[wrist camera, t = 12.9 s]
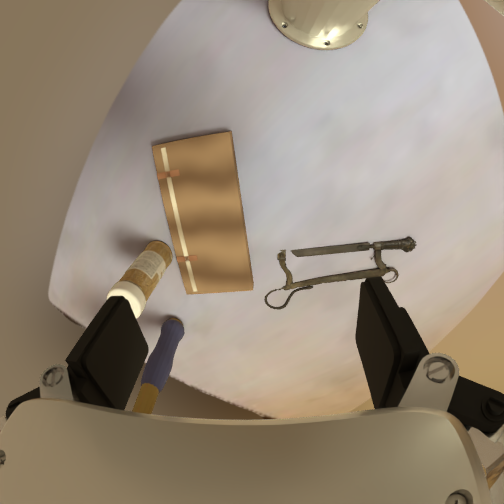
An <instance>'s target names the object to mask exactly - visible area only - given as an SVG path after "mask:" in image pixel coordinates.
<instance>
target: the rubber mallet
mask: <svg viewBox="0 0 504 504" xmlns="http://www.w3.org/2000/svg"><path fill="white" fill-rule="evenodd" d="M183 335H184V327H183V324H182V322H181V321H180V320H178V319H175V318H171V319H169V320H167V321H166V322H164V323H163V325H162V327H161V334H160V337H159V340H158V342H157V345H156V347H155V349H154V350H153V352H152V353H151V355H150V356H149V359H148V361H147V363H146V366H145V369H144V372H143V376H142V380H141V389H140V392H139V394H138V397H137V399H136V402H135V405H134V408H133V410H132V412H138V413H145V414H151V413H152V410H153V407H154V405H155V402H156V399H157V396H158V394H159V392H160V391H161V390H162V388H163V387H164V385H165V383H166V381H167V379H168V376H169V374H170V371H171V368H172V364H173V358H174V354H175V351H176V349H177V346H178V343H179V341H180V340H181V339H182V337H183Z"/></svg>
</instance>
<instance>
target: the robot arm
mask: <svg viewBox="0 0 504 504" xmlns="http://www.w3.org/2000/svg"><path fill="white" fill-rule="evenodd" d="M379 1H380V0H268V7H269V13H270V16H271V18H272V21H273V22H274V24H275V25H276V27H277V28H278V29H279V30H280V31H281V32H282V33H283V34H284V35H285V36H286V37H288V38H289V39H291V40H292V41H294V42H296V43H298V44H300V45H303V46H305V47H308V48H313V49H318V50H334V49H339V48H343V47H346V46H348V45H350V44H352V43H353V42H355V41H356V40H357V39H358V38H359V37H360V36H361V35H362V34H363V32H364V31H365V29H366V26H367V22H368V11H369V10H370V9H371V8H372V7H373V6H374V5H375V4H377V3H378V2H379ZM485 1H486V2H487V3H488V4H489V5H490V6H492V7H493V8H494V9H495V10H497V11H498V12H499V13H500V14H502V15H503V16H504V0H485ZM282 26H286V28H283V27H282ZM357 26H359V27H360V28H358V27H357ZM324 43H327V46H325V45H324ZM356 344H357V348H358V351H359V354H360V358H361V361H362V364H363V368H364V371H365V375H366V378H367V382H368V386H369V389H370V393H371V397H372V401H373V404H374V408H375V409H374V410H365V411H357V412H350V413H343V414H334V415H325V416H314V417H303V418H289V419H269V420H216V419H195V418H181V417H171V416H161V415H153V414H145V413H138V412H131V411H125V410H124V409H125V406H126V404H127V402H128V399H129V397H130V394H131V392H132V389H133V387H134V385H135V382H136V380H137V378H138V375H139V373H140V371H141V368H142V366H143V364H144V361H145V359H146V357H147V355H148V345H147V342H146V340H145V338H144V336H143V334H142V331H141V329H140V327H139V325H138V322H137V320H136V318H135V315H134V313H133V310H132V308H131V305H130V303H129V301H128V300H127V299H125V297H124V296H110V297H109V298H108V300H107V301H106V302H105V304H104V305H103V306H102V308H101V309H100V310H99V312H98V313H97V315H96V316H95V317H94V319H93V320H92V322H91V323H90V324H89V326H88V327H87V329H86V330H85V332H84V333H83V335H82V336H81V337H80V339H79V340H78V342H77V343H76V345H75V346H74V348H73V349H72V351H71V352H70V354H69V355H68V357H67V358H66V362H67V363H68V367H67V368H66V367H65V366H64V365H61V364H55V365H52V366H50V367H48V368H47V369H46V370H45V371H44V372H43V373H42V375H41V377H40V381H39V385H40V387H38V388H36V389H34V390H32V391H30V392H28V393H26V394H24V395H22V396H20V397H18V398H16V399H14V400H12V401H11V402H10V403H9V405H8V407H7V410H6V417H5V416H4V415H3V416H1V417H0V504H504V394H502V393H501V392H499V391H496V390H493V389H491V388H488V387H486V386H483V385H481V384H478V383H476V382H473V381H471V380H468V379H466V378H463V377H461V376H459V368H458V365H457V363H456V362H455V360H454V359H452V358H451V357H450V356H447V355H445V354H441V353H432V354H429V352H428V350H427V348H426V346H425V344H424V342H423V340H422V338H421V337H420V335H419V333H418V331H417V329H416V327H415V325H414V324H413V322H412V320H411V318H410V316H409V315H408V313H407V311H406V310H405V308H403V307H398V305H397V303H396V301H395V300H394V298H393V296H392V294H391V293H390V291H389V289H388V287H387V286H386V284H385V282H384V281H383V279H382V277H381V276H378V277H369V278H366V280H365V282H362V283H361V288H360V299H359V309H358V318H357V327H356ZM482 464H483V466H484V467H485V468H486V473H487V476H485V473H484V470H483V467H482Z"/></svg>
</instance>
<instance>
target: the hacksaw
mask: <svg viewBox="0 0 504 504" xmlns="http://www.w3.org/2000/svg"><path fill="white" fill-rule="evenodd" d="M415 246H416V241H414V243H413V239H412V238H411V237H409V238H407V239H404V240H399V241H398V240H397V241H388V242H375V243H374V245H370V243H361V244H350V245H340V246H330V247H320V248H310V249H309V248H308V249H298V250H292V253H293V254H294V255H295V256H297V257H304V256H314V255H325V254H335V253H345V252H356V251H366V250H369V248H374V250H375V255H374V256H375V261H376V264H377V266H378V267H379V269H374V270H367V271H359V272H353V273H346V274H338V275H331V276H325V277H318V278H313V279H309V280H305V281H300V282H295V283H293V282H292V280H293V278H292V274H291V272H290V271H289V270H288V269H287V267H286V263H285V261H286V258H285V257H286V250H280V251H282V252H281V253H279V254H278V259H277V260H280V261H279V262H280V265H281V267H282V269H283V270H284V272H285V273H286V277H287V281H286V286H283V287H284V288H281V289H284V290H290V289H294V288H297V287H303V288H299V289H296V290H294V291H293V292H292V293H291V294H290V296H289V297H288V299H287V301H286V303H285V304H284V305H283V306H282V307H273V306H271V305H269V304H268V302H267V297H268V295H269V294H270V293H271V292H273V291H276V290H278V289H275V290H272V291H270V292H269V293H268V294H267V295H266V296H265V303H266V304H267V306H269V307H270V308H273V309H282V308H284V307H286V305H287V304H288V302H289V300H290V298H291V296H292V295H293V294H294V293H295V292H297V291H299V290H304V289H311V288H313V286H310V285H317V284H322V283H327V282H328V283H330V282H335V281H337V282H338V281H346V280H356V279H363V278H369V277H378V276H384V275H385V274H386V273H388V272H390V271H394V272H395V273H396V275H397V276H396V279H397V278H398V272H397V270H396V269H393V268H386V264H384V263H383V261H382V260H381V250H384V249H402V250H403V251H405V252H409V251H412V250H413V249H414V248H415ZM374 256H373V257H374ZM371 260H372V258H371ZM396 279H395V280H396ZM395 280H394V281H395ZM394 281H392V282H394ZM384 282H385V281H384ZM385 283H391V282H385ZM304 286H307V287H304ZM281 289H279V290H281Z"/></svg>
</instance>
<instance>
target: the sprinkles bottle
mask: <svg viewBox="0 0 504 504" xmlns="http://www.w3.org/2000/svg"><path fill="white" fill-rule="evenodd" d="M171 261H172V252H171V250H170V248H169V247H168V246H167V245H166V244H164V243H163V242H160V241H153V242H151V243H149V244H148V245H147V246H146V248H145V250H144V251H143V252H142V253H141V254H140V255H139V256H138V257H137V259H136V260H135V261H134V262H133V264H132V265H131V266H130V267H129V268H128V270H127V271H126V272H125V274H124V276H123V277H122V278H121V279H120V280H119V282H117V283H116V284H115V285H114V286H113V287H112V288H111V290H110V291H109V293H108V295H107V300H108V298H109V297H110V296H124V297H125V299H127V300H128V301H129V303H130V305H131V308H132V310H133V313H134V315H135V318H136V319H137V318H138V317H139V316H140V315H141V313H142V311H143V310H144V308H145V305H146V301H147V300H148V298H149V296H150V295H151V293H152V291H153V290H154V289H155V287H156V285H157V284H158V282H159V280H160V279H161V277H162V276H163V274H164V272H165V270H166V268H167V267H168V266H169V265H170V263H171Z"/></svg>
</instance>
